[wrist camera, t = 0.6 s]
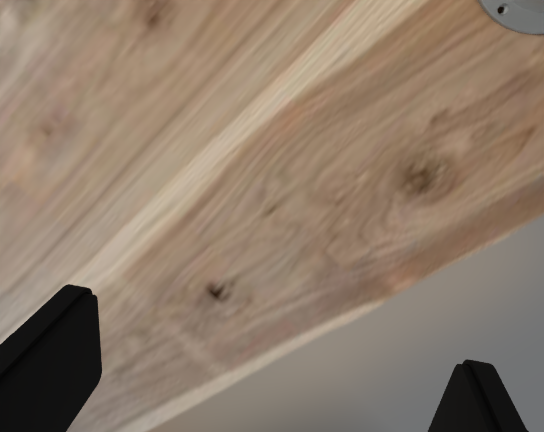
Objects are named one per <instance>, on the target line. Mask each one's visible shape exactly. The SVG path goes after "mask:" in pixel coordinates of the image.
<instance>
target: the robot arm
mask: <svg viewBox="0 0 544 432" xmlns="http://www.w3.org/2000/svg"><path fill="white" fill-rule="evenodd" d="M477 1H478V3H479V4H480V6H481V7H482V9H483V11H484V12H485V13H486V14H487V15H488V16H489V17H490V18H491V19H492V20H493V21H494V22H496V23H498V24H499V25H501V26H503V27H504V28H506V29H509V30H512V31H515V32H518V33H525V34H544V0H477ZM499 7H501V8H502V12H501V13H500V14H499V13H498V8H499ZM101 374H102V362H101V347H100V331H99V316H98V300H97V296H96V295H92V291H91V289H89V288H86V287H80V286H75V285H70V284H68V285H65V286H64V287H63V288H62V289H60V290H59V291H58V292H57V293H56V294H55V295H54V296H53V297H52V298H51V299H50V300H49V301H48V302H46V303H45V304H44V305H43V306H42V307H41V308H40V309H39V310H38V311H37V312H36V313H35V314H33V315H32V316H31V317H30V318H29V319H28V320H27V321H26V322H25V323H24V324H23V325H22V326H20V327H19V328H18V329H17V330H16V331H15V332H14V333H13V334H11V335H10V336H9V337H8V338H7V339H6V340H5V341H4V342H3V343H2V344H0V432H66V431H67V429H68V428H69V426H70V425H71V423H72V422H73V420H74V419H75V417H76V416H77V414H78V413H79V411H80V410H81V409H82V407H83V406H84V404H85V403H86V401H87V400H88V398H89V397H90V395H91V394H92V392H93V391H94V389H95V388H96V386H97V385H98V383H99V381H100V378H101ZM428 432H529V431H527V430H526V428H525V426H524V424H523V422H522V420H521V418H520V416H519V414H518V412H517V410H516V408H515V406H514V404H513V402H512V400H511V398H510V396H509V394H508V392H507V391H506V389H505V387H504V385H503V383H502V381H501V379H500V377H499V375H498V373H497V371H496V369H495V368H494V366H493V365H491V364H489V363H484V362H479V361H473V360H465V361H464V362H463V364H457V365H456V367H455V368H454V371H453V373H452V375H451V378H450V380H449V382H448V385H447V387H446V389H445V392H444V394H443V397H442V399H441V401H440V404H439V406H438V408H437V411H436V413H435V416H434V418H433V420H432V423H431V426H430V427H429V430H428Z"/></svg>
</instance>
